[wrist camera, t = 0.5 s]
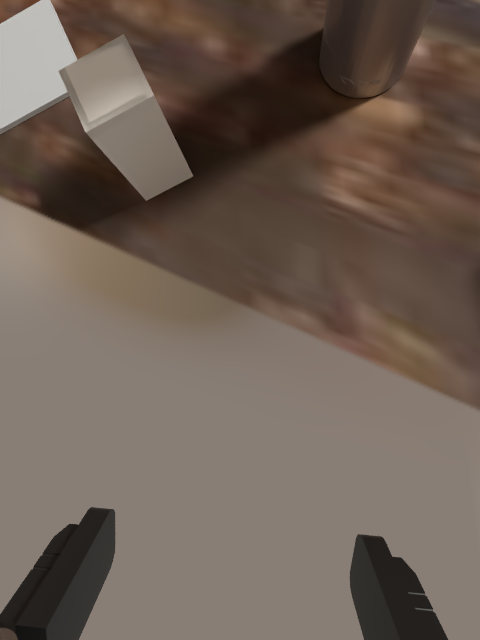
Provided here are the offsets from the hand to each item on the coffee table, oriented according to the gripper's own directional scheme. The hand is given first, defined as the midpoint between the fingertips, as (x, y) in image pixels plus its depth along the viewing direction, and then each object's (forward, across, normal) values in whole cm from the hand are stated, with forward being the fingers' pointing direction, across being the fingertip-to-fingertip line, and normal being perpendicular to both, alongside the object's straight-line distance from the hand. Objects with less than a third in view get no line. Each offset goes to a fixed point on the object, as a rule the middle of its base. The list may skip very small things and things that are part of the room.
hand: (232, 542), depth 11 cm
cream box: (+31, +12, -18) cm, 38 cm away
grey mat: (+37, +30, -29) cm, 56 cm away
